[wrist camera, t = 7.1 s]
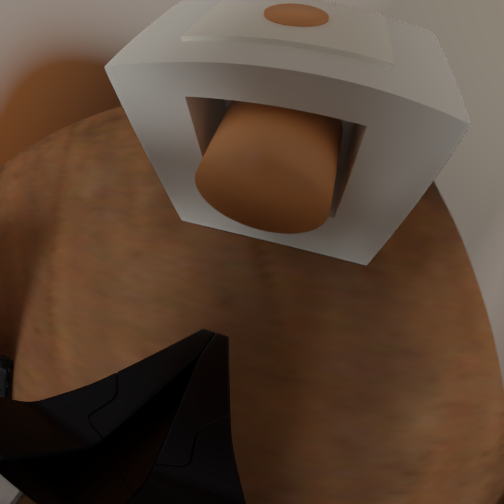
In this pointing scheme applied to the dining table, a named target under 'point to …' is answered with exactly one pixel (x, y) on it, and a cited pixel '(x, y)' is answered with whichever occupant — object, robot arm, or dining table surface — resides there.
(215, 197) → the button
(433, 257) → the dining table surface
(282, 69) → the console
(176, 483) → the robot arm
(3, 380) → the handheld game console
